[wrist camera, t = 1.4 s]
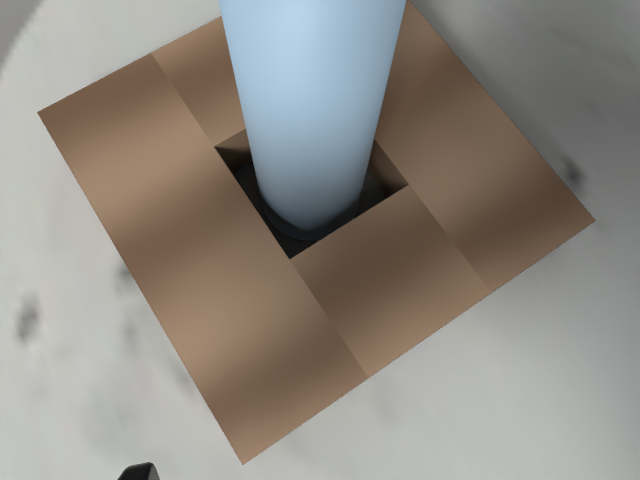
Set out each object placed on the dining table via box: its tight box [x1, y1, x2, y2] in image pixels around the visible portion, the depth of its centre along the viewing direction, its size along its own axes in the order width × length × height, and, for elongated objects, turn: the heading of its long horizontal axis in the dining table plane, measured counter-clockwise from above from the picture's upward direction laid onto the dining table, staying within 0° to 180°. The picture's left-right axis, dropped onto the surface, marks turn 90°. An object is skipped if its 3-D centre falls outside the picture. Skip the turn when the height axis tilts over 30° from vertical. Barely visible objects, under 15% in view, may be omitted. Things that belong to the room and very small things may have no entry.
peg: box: [218, 0, 406, 241], centre depth 19 cm, size 4×4×14 cm
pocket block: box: [37, 0, 596, 465], centre depth 24 cm, size 16×16×3 cm
